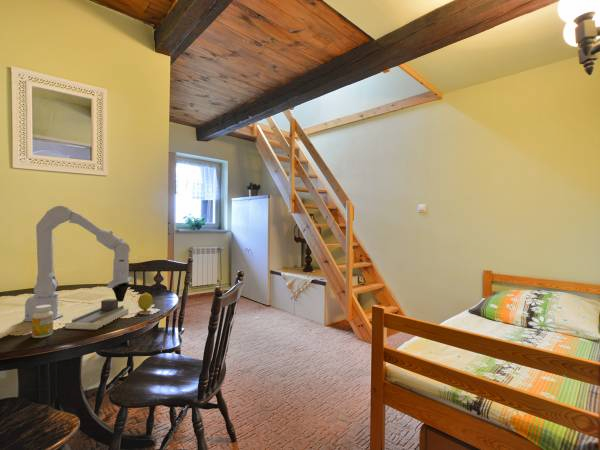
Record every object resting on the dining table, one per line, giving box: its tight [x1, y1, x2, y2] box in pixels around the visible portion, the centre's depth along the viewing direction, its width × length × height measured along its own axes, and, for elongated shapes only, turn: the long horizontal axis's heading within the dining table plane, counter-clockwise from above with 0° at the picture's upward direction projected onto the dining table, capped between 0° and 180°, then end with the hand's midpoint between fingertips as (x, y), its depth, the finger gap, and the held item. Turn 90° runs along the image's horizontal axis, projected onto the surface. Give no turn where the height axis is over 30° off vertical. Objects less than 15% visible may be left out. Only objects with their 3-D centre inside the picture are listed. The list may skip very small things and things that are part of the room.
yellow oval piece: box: [137, 292, 153, 312], centre depth 133 cm, size 6×6×8 cm
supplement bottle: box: [31, 305, 54, 339], centre depth 102 cm, size 5×5×10 cm
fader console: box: [65, 305, 129, 330], centre depth 119 cm, size 11×20×3 cm, turn 179°
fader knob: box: [100, 298, 119, 311], centre depth 125 cm, size 5×3×4 cm, turn 89°
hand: (120, 301), depth 132 cm, fingers closed
